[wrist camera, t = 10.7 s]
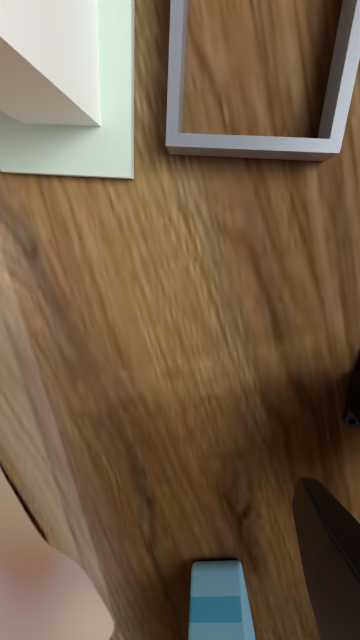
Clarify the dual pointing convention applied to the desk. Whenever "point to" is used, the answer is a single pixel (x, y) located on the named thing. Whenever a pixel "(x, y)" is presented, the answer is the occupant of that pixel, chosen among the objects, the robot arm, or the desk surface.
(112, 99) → the sage mat
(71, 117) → the module
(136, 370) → the desk surface
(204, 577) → the data package
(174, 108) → the grey holder tray
